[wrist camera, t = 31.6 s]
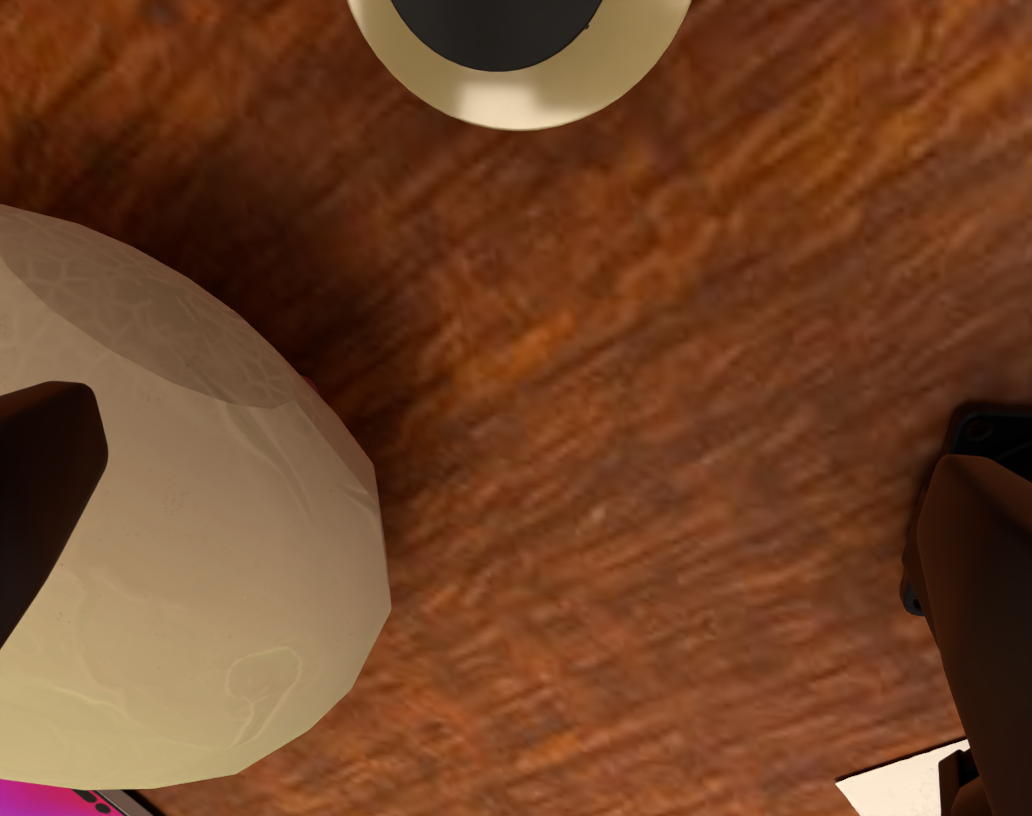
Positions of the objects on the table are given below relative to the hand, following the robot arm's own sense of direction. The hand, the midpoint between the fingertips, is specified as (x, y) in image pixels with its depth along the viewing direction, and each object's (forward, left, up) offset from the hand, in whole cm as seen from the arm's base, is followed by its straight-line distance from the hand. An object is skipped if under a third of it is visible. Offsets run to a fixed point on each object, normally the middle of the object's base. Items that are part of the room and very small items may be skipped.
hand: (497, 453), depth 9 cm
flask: (+12, +8, -12) cm, 19 cm away
